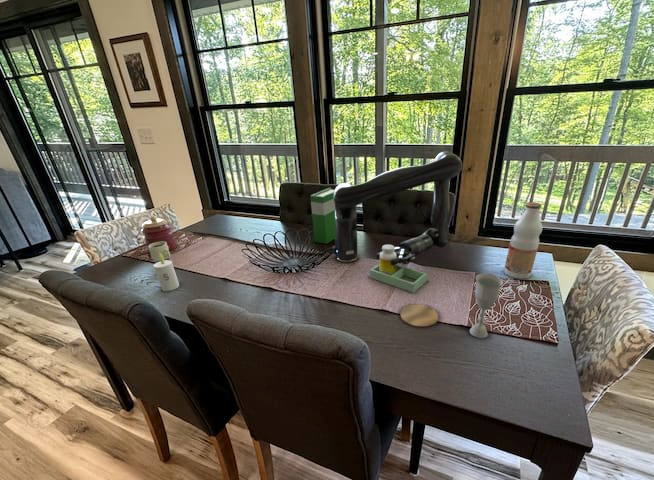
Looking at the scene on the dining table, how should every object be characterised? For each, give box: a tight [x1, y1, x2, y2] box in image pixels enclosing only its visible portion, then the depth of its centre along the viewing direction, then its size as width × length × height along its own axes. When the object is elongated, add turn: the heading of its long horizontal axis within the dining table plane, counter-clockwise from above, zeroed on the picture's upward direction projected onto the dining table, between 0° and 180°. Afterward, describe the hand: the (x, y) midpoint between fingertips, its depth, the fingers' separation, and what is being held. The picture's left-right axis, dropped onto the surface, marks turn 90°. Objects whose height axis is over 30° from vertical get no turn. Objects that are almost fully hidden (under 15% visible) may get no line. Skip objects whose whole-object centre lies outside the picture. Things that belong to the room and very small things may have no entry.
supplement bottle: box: [378, 244, 397, 276], centre depth 123 cm, size 7×7×13 cm
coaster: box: [399, 303, 439, 328], centre depth 101 cm, size 12×12×1 cm
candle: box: [153, 252, 180, 292], centre depth 122 cm, size 6×6×15 cm
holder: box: [369, 263, 428, 293], centre depth 122 cm, size 20×10×4 cm, turn 50°
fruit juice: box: [503, 201, 544, 280], centre depth 117 cm, size 9×9×28 cm
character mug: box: [147, 242, 171, 263], centre depth 135 cm, size 11×7×13 cm, turn 67°
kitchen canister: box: [140, 216, 177, 253], centre depth 157 cm, size 13×13×18 cm
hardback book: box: [309, 187, 336, 245], centre depth 161 cm, size 18×7×24 cm, turn 150°
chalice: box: [469, 273, 504, 339], centre depth 88 cm, size 7×7×18 cm
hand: (384, 259), depth 121 cm, fingers open, 7 cm apart
